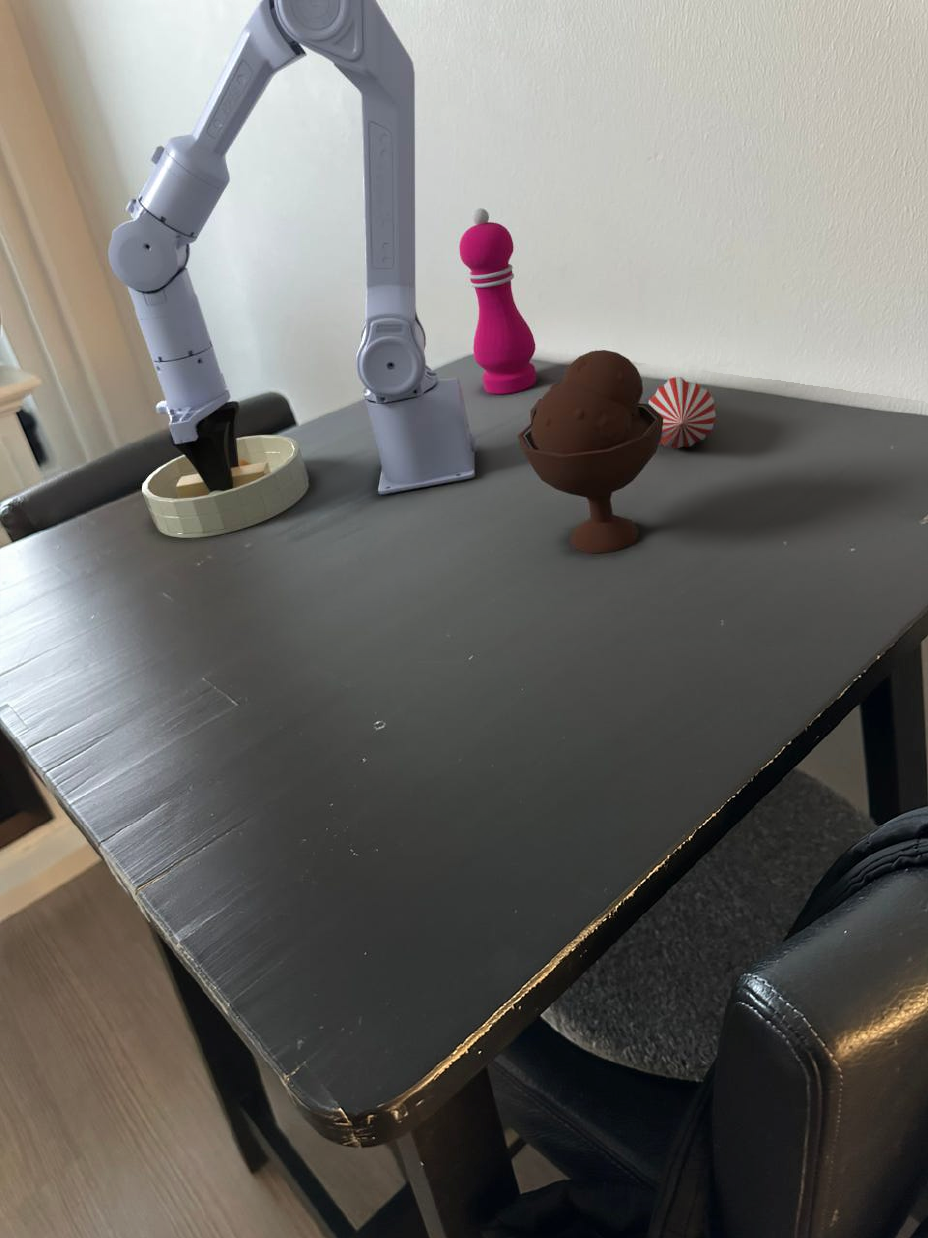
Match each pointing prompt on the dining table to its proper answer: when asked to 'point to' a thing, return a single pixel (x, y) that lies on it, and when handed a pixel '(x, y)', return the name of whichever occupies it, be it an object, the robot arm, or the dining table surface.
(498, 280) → the pepper mill
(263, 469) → the wooden block
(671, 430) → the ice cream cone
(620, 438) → the ice cream bowl
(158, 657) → the dining table surface
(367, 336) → the robot arm
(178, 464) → the cream round tray
